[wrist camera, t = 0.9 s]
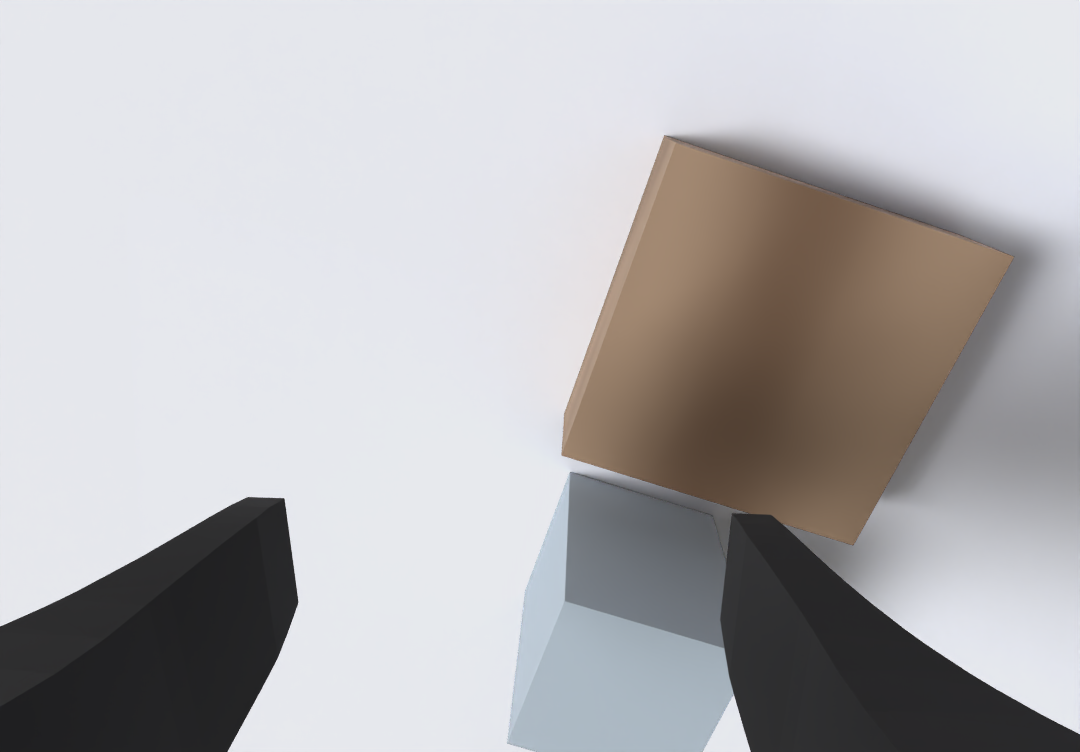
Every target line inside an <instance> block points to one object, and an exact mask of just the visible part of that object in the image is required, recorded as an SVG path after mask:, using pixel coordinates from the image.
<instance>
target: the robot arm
mask: <svg viewBox="0 0 1080 752" xmlns="http://www.w3.org/2000/svg"><path fill="white" fill-rule="evenodd" d="M297 605H298V596H297V588H296V581H295V574H294V566H293V559H292V551H291V544H290V537H289V529H288V522H287V514H286V507H285V500H284V498H256V497H247V498H245V499H243V500H241V501H239V502H237V503H235V504H233V505H231V506H229V507H227V508H225V509H223V510H222V511H220V512H218V513H216V514H214V515H213V516H211V517H209V518H207V519H206V520H204V521H202V522H201V523H199V524H197V525H195V526H194V527H192V528H190V529H189V530H187V531H185V532H183V533H182V534H180V535H178V536H177V537H175V538H173V539H171V540H170V541H168V542H166V543H165V544H163V545H161V546H159V547H158V548H156V549H154V550H152V551H151V552H149V553H147V554H146V555H144V556H142V557H140V558H138V559H137V560H135V561H133V562H131V563H129V564H127V565H125V566H124V567H122V568H120V569H118V570H116V571H114V572H112V573H110V574H109V575H107V576H105V577H103V578H101V579H99V580H97V581H95V582H94V583H92V584H90V585H88V586H86V587H84V588H82V589H81V590H79V591H77V592H75V593H73V594H71V595H69V596H67V597H65V598H62V599H60V600H58V601H56V602H54V603H52V604H50V605H48V606H46V607H44V608H41V609H39V610H37V611H35V612H32V613H30V614H28V615H26V616H23V617H21V618H19V619H17V620H14V621H12V622H10V623H7V624H5V625H3V626H0V752H227V751H228V750H229V748H230V746H231V744H232V742H233V740H234V739H235V737H236V735H237V733H238V731H239V729H240V728H241V726H242V724H243V722H244V720H245V718H246V717H247V715H248V713H249V711H250V709H251V707H252V706H253V704H254V702H255V700H256V698H257V696H258V694H259V693H260V691H261V689H262V687H263V685H264V683H265V681H266V679H267V678H268V676H269V674H270V672H271V670H272V668H273V666H274V664H275V662H276V660H277V658H278V656H279V653H280V651H281V648H282V646H283V643H284V641H285V638H286V636H287V633H288V630H289V628H290V625H291V622H292V619H293V616H294V613H295V611H296V608H297ZM720 623H721V629H722V636H723V642H724V649H725V655H726V661H727V667H728V673H729V678H730V682H731V685H732V689H733V693H734V696H735V699H736V703H737V706H738V710H739V713H740V717H741V720H742V724H743V727H744V730H745V734H746V737H747V740H748V744H749V747H750V750H751V752H1080V734H1078V733H1076V732H1074V731H1072V730H1070V729H1068V728H1066V727H1064V726H1062V725H1060V724H1058V723H1056V722H1054V721H1052V720H1051V719H1049V718H1047V717H1045V716H1043V715H1041V714H1039V713H1037V712H1036V711H1034V710H1032V709H1030V708H1029V707H1027V706H1025V705H1023V704H1021V703H1020V702H1018V701H1016V700H1014V699H1012V698H1011V697H1009V696H1007V695H1005V694H1004V693H1002V692H1000V691H998V690H996V689H995V688H993V687H991V686H990V685H988V684H986V683H985V682H983V681H981V680H980V679H978V678H976V677H975V676H973V675H971V674H970V673H968V672H967V671H965V670H964V669H962V668H961V667H959V666H958V665H956V664H955V663H953V662H951V661H950V660H948V659H947V658H945V657H944V656H942V655H941V654H939V653H938V652H936V651H935V650H933V649H932V648H930V647H929V646H927V645H926V644H924V643H923V642H922V641H920V640H919V639H917V638H916V637H915V636H913V635H912V634H910V633H909V632H908V631H906V630H905V629H904V628H902V627H901V626H900V625H898V624H897V623H896V622H895V621H893V620H892V619H891V618H889V617H888V616H887V615H886V614H884V613H883V612H882V611H880V610H879V609H878V608H876V607H875V606H874V605H873V604H871V603H870V602H869V601H868V600H867V599H865V598H864V597H863V596H862V595H860V594H859V593H858V592H857V591H856V590H854V589H853V588H852V587H851V586H850V585H849V584H847V583H846V582H845V581H844V580H843V579H842V578H841V577H839V576H838V575H837V574H836V573H835V572H834V571H833V570H831V569H830V568H829V567H828V566H827V565H826V564H825V563H824V562H823V561H821V560H820V559H819V558H818V557H817V556H816V555H815V554H814V553H813V552H812V551H811V550H809V549H808V548H807V547H806V546H805V545H804V544H803V543H802V542H801V541H800V540H799V539H798V538H797V537H795V536H794V535H793V534H792V533H791V532H790V531H789V530H788V529H787V528H786V527H785V526H784V525H783V524H781V523H780V522H779V521H778V520H777V519H776V518H775V517H773V516H772V515H766V514H736V513H732V517H731V526H730V535H729V544H728V553H727V562H726V571H725V580H724V589H723V598H722V606H721V615H720Z"/></svg>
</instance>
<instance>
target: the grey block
mask: <svg viewBox="0 0 1080 752" xmlns="http://www.w3.org/2000/svg"><path fill="white" fill-rule="evenodd" d="M725 571H726V560H725V557H724V553H723V550H722V547H721V543H720V540H719V536H718V533H717V529H716V526H715V522H714V519H713V516H712V515H708V514H705V513H702V512H699V511H695V510H692V509H689V508H686V507H682V506H679V505H676V504H673V503H669V502H666V501H663V500H660V499H656V498H653V497H650V496H647V495H643V494H640V493H637V492H634V491H630V490H627V489H624V488H621V487H617V486H614V485H611V484H608V483H604V482H601V481H598V480H595V479H591V478H588V477H585V476H582V475H578V474H575V473H572V472H570V473H569V476H568V478H567V481H566V484H565V486H564V489H563V492H562V494H561V497H560V500H559V502H558V505H557V508H556V510H555V513H554V515H553V518H552V521H551V523H550V526H549V529H548V531H547V534H546V537H545V539H544V542H543V545H542V547H541V550H540V553H539V555H538V558H537V561H536V563H535V566H534V569H533V571H532V574H531V577H530V579H529V582H528V585H527V587H526V590H525V597H524V606H523V614H522V623H521V631H520V639H519V648H518V656H517V665H516V673H515V682H514V690H513V699H512V707H511V715H510V724H509V732H508V741H507V744H511V745H514V746H518V747H521V748H525V749H528V750H532V751H535V752H703V750H704V748H705V746H706V744H707V743H708V741H709V739H710V737H711V735H712V733H713V731H714V730H715V728H716V726H717V724H718V722H719V720H720V718H721V717H722V715H723V713H724V711H725V709H726V707H727V705H728V704H729V702H730V700H731V698H732V696H733V694H734V693H733V689H732V685H731V682H730V678H729V673H728V667H727V661H726V655H725V649H724V642H723V636H722V629H721V623H720V615H721V606H722V598H723V589H724V580H725Z"/></svg>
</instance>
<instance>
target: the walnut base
mask: <svg viewBox="0 0 1080 752" xmlns="http://www.w3.org/2000/svg"><path fill="white" fill-rule="evenodd" d="M1013 258H1014V257H1013V256H1011V255H1008V254H1006V253H1003V252H1001V251H999V250H996V249H994V248H991V247H989V246H986V245H984V244H981V243H979V242H976V241H974V240H971V239H969V238H966V237H964V236H961V235H959V234H956V233H953V232H950V231H947V230H944V229H941V228H938V227H935V226H932V225H929V224H926V223H923V222H920V221H917V220H914V219H911V218H908V217H905V216H902V215H899V214H896V213H893V212H890V211H887V210H884V209H881V208H879V207H876V206H873V205H870V204H867V203H864V202H861V201H858V200H855V199H852V198H849V197H846V196H843V195H840V194H837V193H834V192H831V191H828V190H825V189H822V188H819V187H816V186H813V185H810V184H807V183H804V182H801V181H798V180H795V179H792V178H789V177H786V176H783V175H780V174H777V173H775V172H772V171H769V170H766V169H763V168H760V167H757V166H754V165H751V164H748V163H745V162H742V161H739V160H736V159H733V158H730V157H727V156H724V155H721V154H718V153H715V152H712V151H709V150H706V149H703V148H700V147H697V146H694V145H691V144H688V143H685V142H682V141H679V140H676V139H673V138H671V137H668V136H665V135H664V138H663V140H662V143H661V146H660V149H659V152H658V154H657V157H656V160H655V163H654V166H653V168H652V171H651V174H650V177H649V179H648V182H647V185H646V188H645V191H644V193H643V196H642V199H641V202H640V204H639V207H638V210H637V213H636V216H635V218H634V221H633V224H632V227H631V229H630V232H629V235H628V238H627V241H626V243H625V246H624V249H623V252H622V255H621V257H620V260H619V263H618V266H617V268H616V271H615V274H614V277H613V280H612V282H611V285H610V288H609V291H608V293H607V296H606V299H605V302H604V305H603V307H602V310H601V313H600V316H599V319H598V321H597V324H596V327H595V330H594V332H593V335H592V338H591V341H590V344H589V346H588V349H587V352H586V355H585V357H584V360H583V363H582V366H581V369H580V371H579V374H578V377H577V380H576V383H575V385H574V388H573V391H572V394H571V396H570V399H569V402H568V405H567V408H566V410H565V413H564V426H563V441H562V456H565V457H569V458H572V459H575V460H578V461H581V462H585V463H588V464H591V465H594V466H598V467H601V468H604V469H607V470H611V471H614V472H617V473H620V474H624V475H627V476H630V477H633V478H637V479H640V480H643V481H646V482H649V483H653V484H656V485H659V486H662V487H666V488H669V489H672V490H675V491H679V492H682V493H685V494H688V495H692V496H695V497H698V498H701V499H705V500H708V501H711V502H714V503H717V504H721V505H724V506H727V507H730V508H734V509H737V510H740V511H743V512H747V513H750V514H766V515H772V516H773V517H775V518H776V519H777V520H778V521H779V522H780V523H782V524H786V525H789V526H792V527H795V528H798V529H802V530H805V531H808V532H811V533H815V534H818V535H821V536H824V537H828V538H831V539H834V540H837V541H841V542H844V543H847V544H850V545H854V543H855V542H856V540H857V538H858V536H859V534H860V533H861V531H862V529H863V527H864V525H865V524H866V522H867V520H868V518H869V516H870V515H871V513H872V511H873V509H874V507H875V506H876V504H877V502H878V500H879V498H880V497H881V495H882V493H883V491H884V490H885V488H886V486H887V484H888V482H889V481H890V479H891V477H892V475H893V473H894V472H895V470H896V468H897V466H898V464H899V463H900V461H901V459H902V457H903V455H904V454H905V452H906V450H907V448H908V446H909V445H910V443H911V441H912V439H913V437H914V436H915V434H916V432H917V430H918V428H919V427H920V425H921V423H922V421H923V420H924V418H925V416H926V414H927V412H928V411H929V409H930V407H931V405H932V403H933V402H934V400H935V398H936V396H937V394H938V393H939V391H940V389H941V387H942V385H943V384H944V382H945V380H946V378H947V376H948V375H949V373H950V371H951V369H952V367H953V366H954V364H955V362H956V360H957V359H958V357H959V355H960V353H961V351H962V350H963V348H964V346H965V344H966V342H967V341H968V339H969V337H970V335H971V333H972V332H973V330H974V328H975V326H976V324H977V323H978V321H979V319H980V317H981V315H982V314H983V312H984V310H985V308H986V306H987V305H988V303H989V301H990V299H991V297H992V296H993V294H994V292H995V290H996V289H997V287H998V285H999V283H1000V281H1001V280H1002V278H1003V276H1004V274H1005V272H1006V271H1007V269H1008V267H1009V265H1010V263H1011V262H1012V260H1013Z"/></svg>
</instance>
